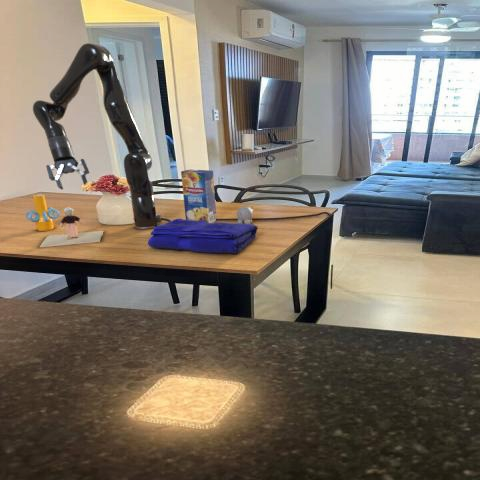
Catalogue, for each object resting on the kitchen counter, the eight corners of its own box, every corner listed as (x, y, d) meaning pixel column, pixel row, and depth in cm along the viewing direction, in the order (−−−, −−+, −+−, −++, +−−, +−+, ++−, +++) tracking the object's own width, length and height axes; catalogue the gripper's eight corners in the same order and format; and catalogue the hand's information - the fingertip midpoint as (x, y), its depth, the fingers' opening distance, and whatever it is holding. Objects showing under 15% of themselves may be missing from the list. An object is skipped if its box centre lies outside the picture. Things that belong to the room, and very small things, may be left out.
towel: (181, 230, 168) (180, 210, 165) (259, 236, 162) (258, 216, 159) (146, 250, 143) (143, 228, 140) (236, 258, 138) (235, 235, 135)
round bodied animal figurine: (259, 220, 186) (259, 203, 183) (249, 227, 175) (248, 208, 172) (245, 218, 187) (245, 202, 185) (234, 225, 176) (233, 207, 174)
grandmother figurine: (66, 241, 150) (60, 209, 146) (61, 239, 152) (55, 208, 148) (86, 236, 156) (80, 206, 152) (81, 234, 158) (75, 204, 154)
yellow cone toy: (43, 234, 159) (36, 199, 154) (22, 232, 160) (14, 197, 156) (67, 226, 170) (61, 193, 165) (47, 224, 172) (40, 191, 167)
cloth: (103, 231, 164) (103, 230, 163) (100, 241, 152) (99, 240, 151) (48, 236, 156) (47, 235, 156) (39, 247, 144) (39, 246, 144)
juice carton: (216, 220, 183) (213, 170, 175) (208, 224, 176) (204, 173, 168) (194, 218, 186) (190, 169, 178) (185, 222, 179) (180, 171, 171)
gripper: (38, 149, 151) (51, 188, 152) (78, 143, 157) (91, 180, 158) (43, 155, 158) (56, 192, 159) (82, 148, 164) (94, 184, 164)
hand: (73, 186), depth 158 cm, fingers open, 8 cm apart
